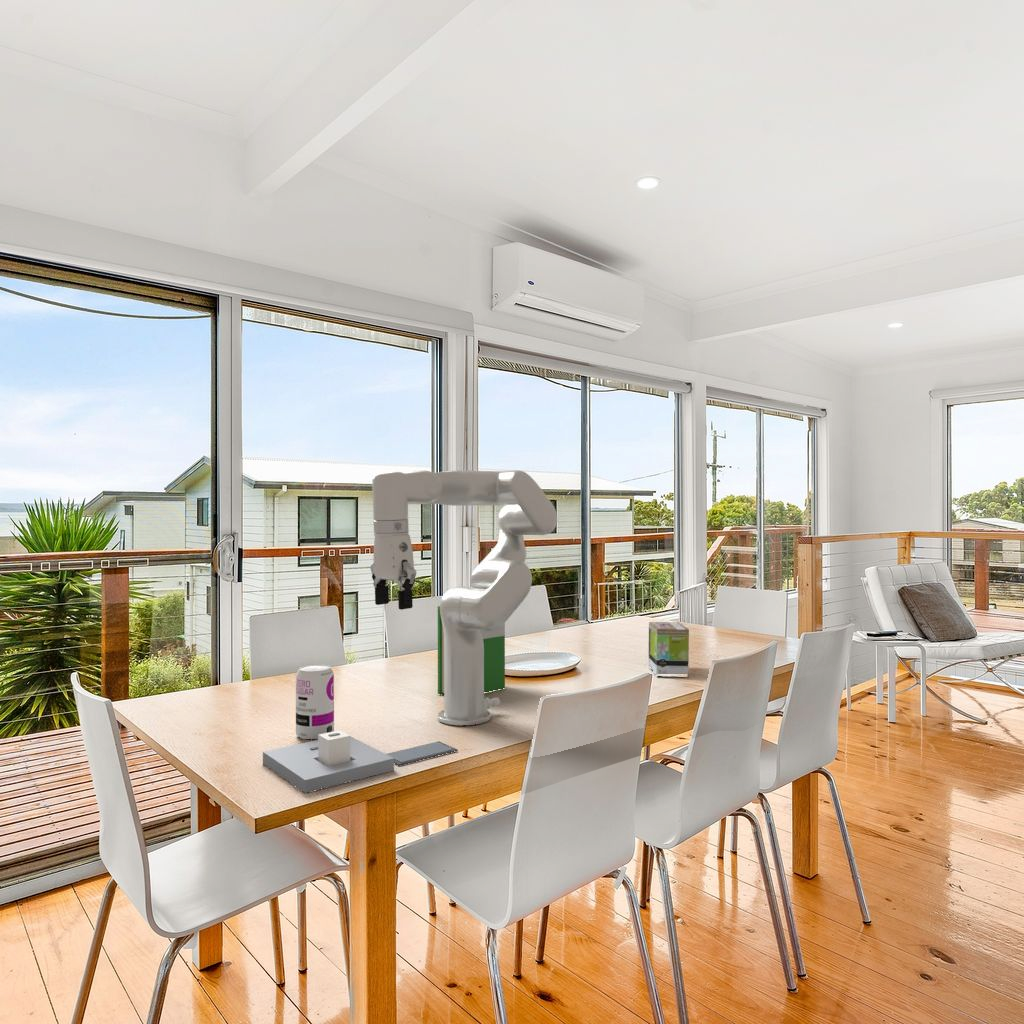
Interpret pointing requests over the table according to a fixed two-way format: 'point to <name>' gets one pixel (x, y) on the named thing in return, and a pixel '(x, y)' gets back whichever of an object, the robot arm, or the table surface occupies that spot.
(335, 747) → the charger block
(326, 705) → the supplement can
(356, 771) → the grey peg hole board
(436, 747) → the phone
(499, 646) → the hardback book
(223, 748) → the table surface
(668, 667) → the tea box
